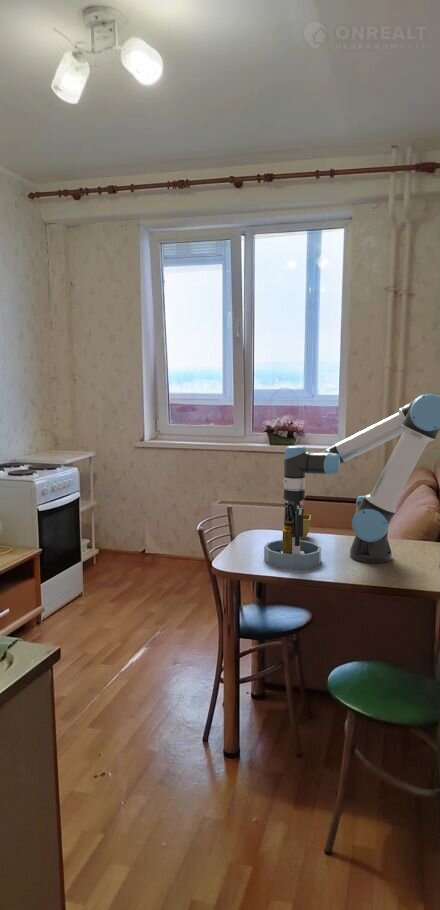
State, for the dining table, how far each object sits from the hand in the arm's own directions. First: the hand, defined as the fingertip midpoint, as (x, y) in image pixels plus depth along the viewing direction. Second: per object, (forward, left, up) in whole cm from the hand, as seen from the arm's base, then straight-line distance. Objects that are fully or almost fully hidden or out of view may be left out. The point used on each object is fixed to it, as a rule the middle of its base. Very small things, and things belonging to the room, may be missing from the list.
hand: (292, 551), depth 212 cm
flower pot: (-14, -30, -4) cm, 33 cm away
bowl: (0, 0, -3) cm, 3 cm away
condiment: (0, 0, -1) cm, 1 cm away
